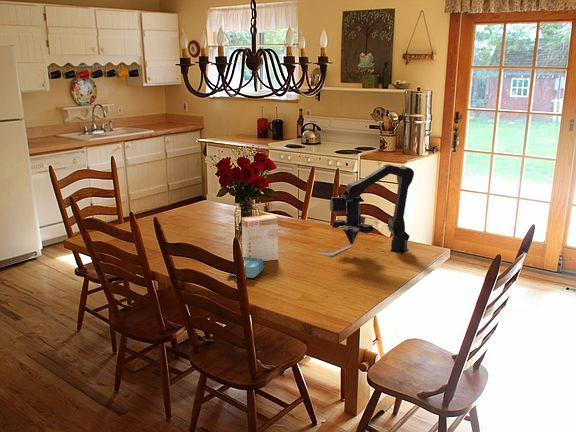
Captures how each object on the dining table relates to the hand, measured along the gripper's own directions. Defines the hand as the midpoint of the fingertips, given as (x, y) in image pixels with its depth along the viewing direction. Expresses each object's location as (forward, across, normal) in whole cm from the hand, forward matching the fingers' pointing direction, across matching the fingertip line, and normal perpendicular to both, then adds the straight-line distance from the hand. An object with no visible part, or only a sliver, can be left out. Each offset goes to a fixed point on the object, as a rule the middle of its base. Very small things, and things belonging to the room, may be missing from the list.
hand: (351, 244), depth 246 cm
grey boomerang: (+5, +13, 0) cm, 14 cm away
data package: (+3, +17, +46) cm, 49 cm away
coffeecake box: (+5, +29, +31) cm, 43 cm away
